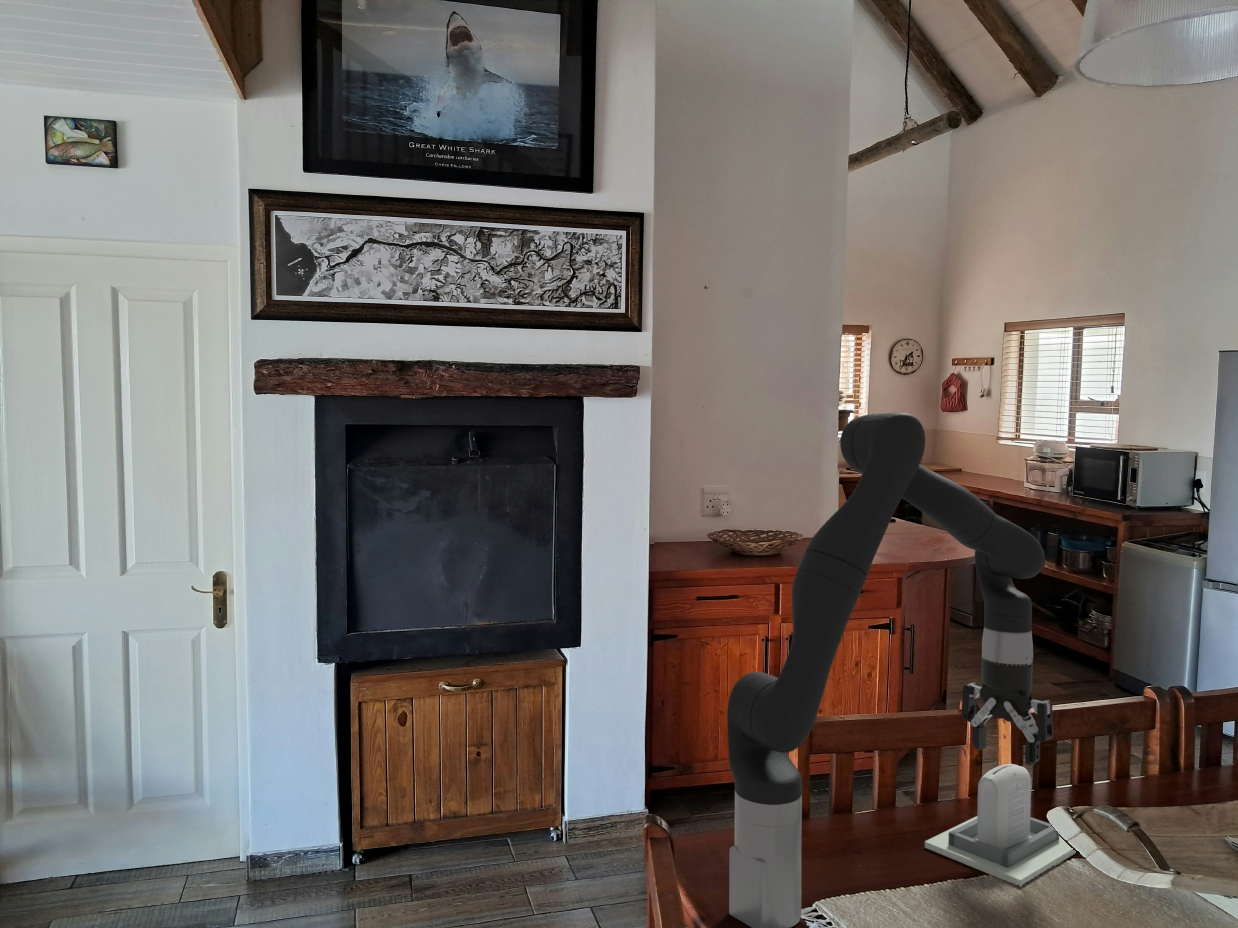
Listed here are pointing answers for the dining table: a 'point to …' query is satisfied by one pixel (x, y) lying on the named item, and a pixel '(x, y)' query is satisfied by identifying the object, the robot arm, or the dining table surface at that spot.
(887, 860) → the dining table surface
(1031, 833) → the dock
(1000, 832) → the grey rounded block
